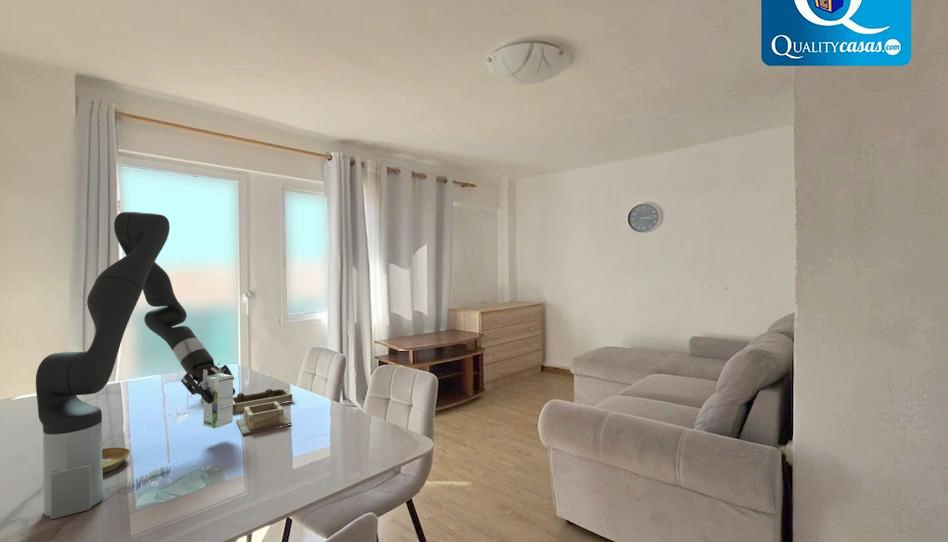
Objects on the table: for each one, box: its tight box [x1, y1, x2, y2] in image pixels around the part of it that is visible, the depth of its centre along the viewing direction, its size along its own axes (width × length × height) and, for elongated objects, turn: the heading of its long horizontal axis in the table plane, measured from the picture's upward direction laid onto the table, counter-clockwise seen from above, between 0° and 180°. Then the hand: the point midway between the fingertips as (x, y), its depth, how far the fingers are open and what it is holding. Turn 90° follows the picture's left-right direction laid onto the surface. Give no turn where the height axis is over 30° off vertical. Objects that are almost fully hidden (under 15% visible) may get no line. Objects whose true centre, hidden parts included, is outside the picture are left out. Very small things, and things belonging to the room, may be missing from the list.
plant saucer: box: [102, 446, 131, 474], centre depth 107 cm, size 15×15×3 cm
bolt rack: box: [233, 388, 293, 414], centre depth 157 cm, size 10×20×3 cm, turn 127°
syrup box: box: [202, 374, 234, 429], centre depth 124 cm, size 6×6×14 cm
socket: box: [236, 401, 293, 437], centre depth 137 cm, size 14×14×5 cm
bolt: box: [236, 388, 283, 403], centre depth 158 cm, size 6×5×15 cm
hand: (222, 398), depth 124 cm, fingers closed on syrup box, 6 cm apart
